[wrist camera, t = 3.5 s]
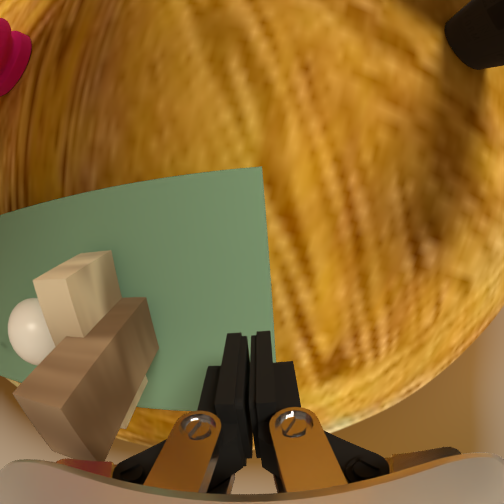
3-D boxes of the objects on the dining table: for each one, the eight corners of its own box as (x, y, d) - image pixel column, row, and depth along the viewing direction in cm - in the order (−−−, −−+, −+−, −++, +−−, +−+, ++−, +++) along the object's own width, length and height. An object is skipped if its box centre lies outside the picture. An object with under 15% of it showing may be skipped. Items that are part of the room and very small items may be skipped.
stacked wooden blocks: (80, 253, 13) (-34, 322, 5) (136, 247, 13) (22, 332, 5) (119, 378, 15) (65, 477, 7) (169, 382, 15) (128, 497, 7)
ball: (26, 288, 14) (-13, 313, 10) (67, 287, 14) (26, 317, 10) (45, 341, 15) (13, 372, 11) (86, 346, 15) (55, 384, 11)
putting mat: (-34, 227, 18) (-63, 237, 13) (260, 168, 16) (261, 166, 12) (3, 348, 21) (-19, 368, 17) (274, 366, 20) (278, 409, 16)
